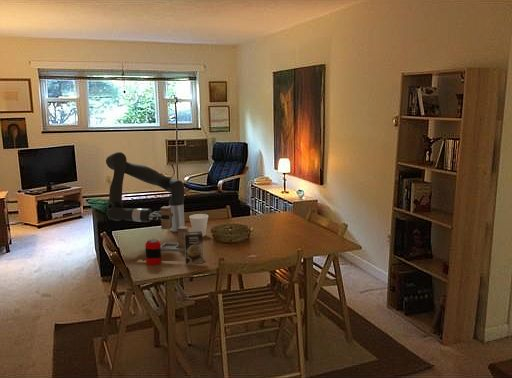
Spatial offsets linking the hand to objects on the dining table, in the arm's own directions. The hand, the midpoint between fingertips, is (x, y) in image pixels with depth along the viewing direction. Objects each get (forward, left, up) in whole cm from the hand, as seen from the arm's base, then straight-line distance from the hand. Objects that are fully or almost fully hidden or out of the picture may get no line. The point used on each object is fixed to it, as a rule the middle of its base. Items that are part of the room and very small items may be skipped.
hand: (170, 216), depth 260 cm
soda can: (+21, -2, -20) cm, 29 cm away
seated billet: (0, +7, -18) cm, 20 cm away
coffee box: (+18, +19, -20) cm, 33 cm away
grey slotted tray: (0, +3, -20) cm, 20 cm away
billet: (0, -3, -7) cm, 8 cm away
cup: (-30, +7, -20) cm, 37 cm away
